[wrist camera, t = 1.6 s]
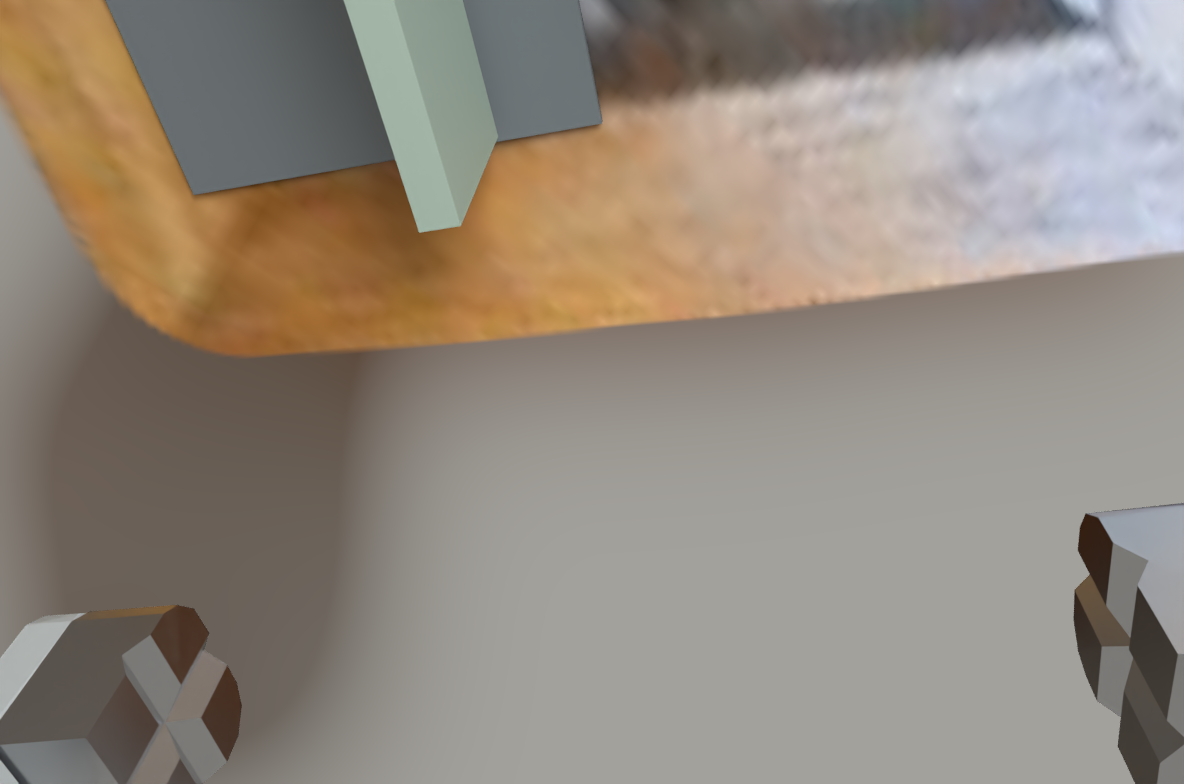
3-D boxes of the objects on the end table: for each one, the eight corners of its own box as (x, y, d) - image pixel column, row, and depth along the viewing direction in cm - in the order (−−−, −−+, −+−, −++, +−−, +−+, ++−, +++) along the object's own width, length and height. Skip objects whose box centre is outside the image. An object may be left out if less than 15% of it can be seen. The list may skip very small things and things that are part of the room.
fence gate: (378, -161, 27) (301, -131, 22) (418, -170, 27) (351, -142, 22) (463, 142, 32) (419, 232, 27) (498, 136, 32) (460, 225, 26)
